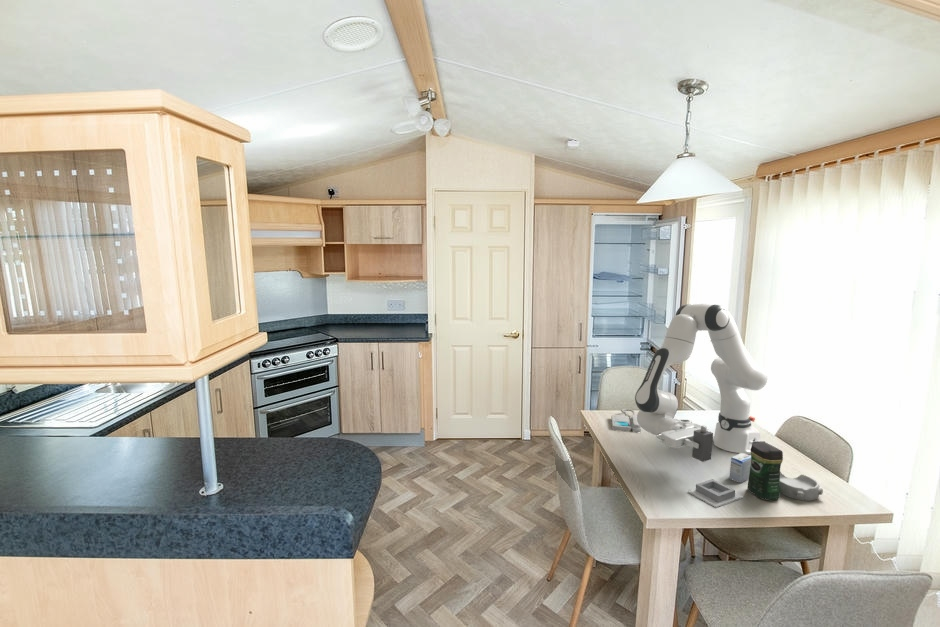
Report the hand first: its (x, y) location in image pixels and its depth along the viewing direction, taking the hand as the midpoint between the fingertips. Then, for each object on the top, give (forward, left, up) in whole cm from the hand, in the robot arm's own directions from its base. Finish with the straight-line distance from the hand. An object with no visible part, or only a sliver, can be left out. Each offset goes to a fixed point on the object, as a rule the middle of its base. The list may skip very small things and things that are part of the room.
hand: (704, 444), depth 163 cm
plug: (0, -1, -5) cm, 6 cm away
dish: (-28, +16, -17) cm, 37 cm away
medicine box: (-20, +1, -17) cm, 27 cm away
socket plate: (0, +5, -17) cm, 18 cm away
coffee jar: (-16, +12, -17) cm, 26 cm away
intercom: (-23, -61, -17) cm, 68 cm away
